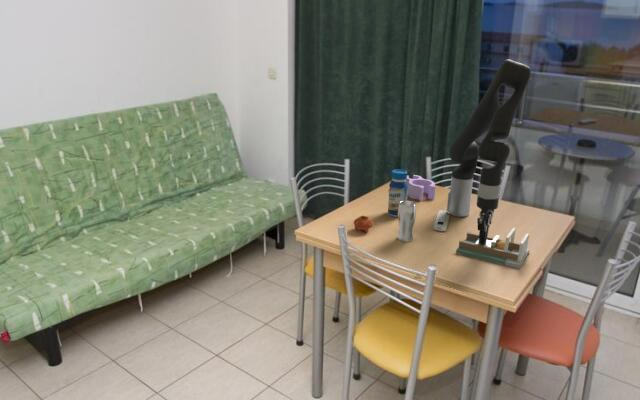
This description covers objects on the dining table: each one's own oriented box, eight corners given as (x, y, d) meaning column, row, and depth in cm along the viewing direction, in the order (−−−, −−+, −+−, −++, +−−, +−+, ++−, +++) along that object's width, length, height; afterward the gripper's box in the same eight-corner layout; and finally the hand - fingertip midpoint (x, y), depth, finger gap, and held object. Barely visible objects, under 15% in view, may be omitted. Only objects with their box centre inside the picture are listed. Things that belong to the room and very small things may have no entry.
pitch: (456, 253, 195) (458, 229, 192) (469, 238, 208) (471, 216, 205) (519, 268, 184) (523, 244, 181) (529, 252, 197) (532, 229, 193)
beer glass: (403, 243, 203) (405, 207, 198) (392, 236, 209) (395, 202, 204) (417, 240, 206) (420, 204, 201) (407, 233, 212) (409, 199, 207)
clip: (398, 189, 267) (399, 176, 264) (420, 187, 270) (421, 174, 268) (415, 202, 249) (416, 188, 246) (439, 199, 252) (440, 186, 249)
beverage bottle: (410, 214, 232) (413, 172, 225) (396, 218, 228) (398, 175, 221) (397, 209, 239) (400, 167, 232) (383, 212, 234) (385, 170, 227)
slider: (474, 247, 196) (477, 222, 192) (479, 241, 201) (482, 216, 198) (493, 252, 192) (496, 226, 189) (498, 245, 198) (501, 220, 194)
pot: (358, 224, 221) (362, 210, 218) (373, 232, 217) (377, 218, 214) (348, 229, 214) (352, 215, 211) (363, 238, 211) (368, 224, 208)
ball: (496, 241, 192) (507, 244, 190) (499, 238, 195) (510, 240, 193) (494, 251, 193) (505, 254, 191) (497, 247, 197) (508, 250, 195)
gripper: (483, 188, 198) (478, 229, 204) (472, 198, 187) (467, 242, 193) (503, 191, 194) (498, 234, 200) (493, 202, 183) (487, 246, 189)
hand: (483, 237), depth 196 cm, fingers closed on slider, 3 cm apart
